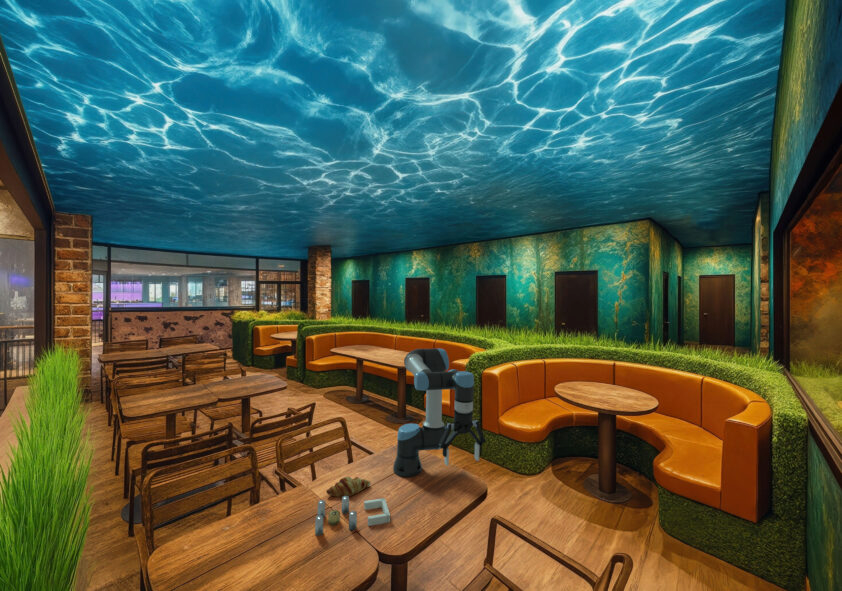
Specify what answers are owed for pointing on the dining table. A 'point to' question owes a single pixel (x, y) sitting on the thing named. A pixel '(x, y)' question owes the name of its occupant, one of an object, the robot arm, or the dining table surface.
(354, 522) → the spacers
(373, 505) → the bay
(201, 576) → the dining table surface
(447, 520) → the dining table surface
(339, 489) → the croissant
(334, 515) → the gold round piece
